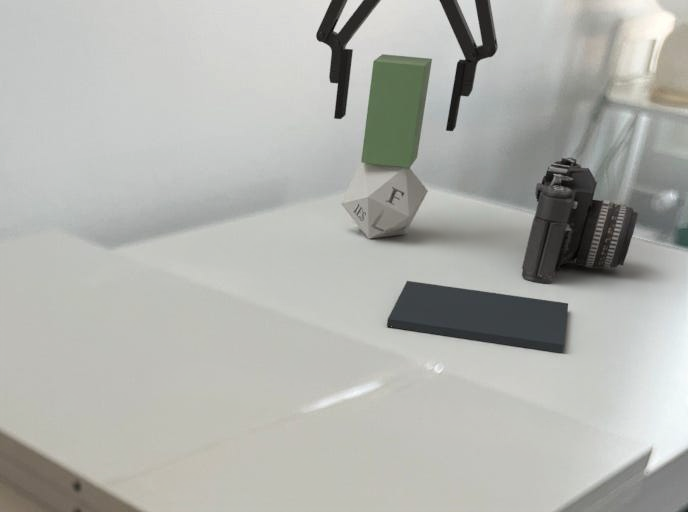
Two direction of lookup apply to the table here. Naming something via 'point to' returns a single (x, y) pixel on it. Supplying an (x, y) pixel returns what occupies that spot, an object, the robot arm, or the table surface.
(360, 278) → the table surface
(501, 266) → the table surface
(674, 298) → the table surface
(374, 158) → the green block
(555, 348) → the mat
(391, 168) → the die
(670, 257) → the table surface
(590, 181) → the camera
